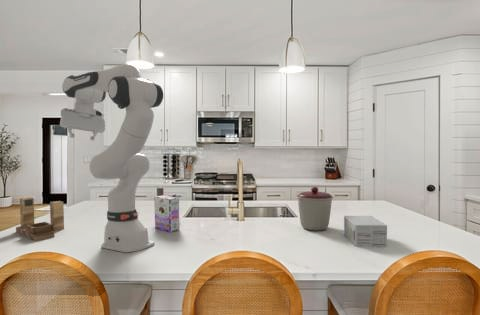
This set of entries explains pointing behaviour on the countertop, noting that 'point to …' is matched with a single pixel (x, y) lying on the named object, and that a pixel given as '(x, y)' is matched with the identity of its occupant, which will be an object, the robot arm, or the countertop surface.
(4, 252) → the countertop surface
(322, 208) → the canister
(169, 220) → the candy box
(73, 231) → the countertop surface
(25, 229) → the wooden block stack
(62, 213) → the light wood tall block
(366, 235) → the supplement box
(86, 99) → the robot arm
